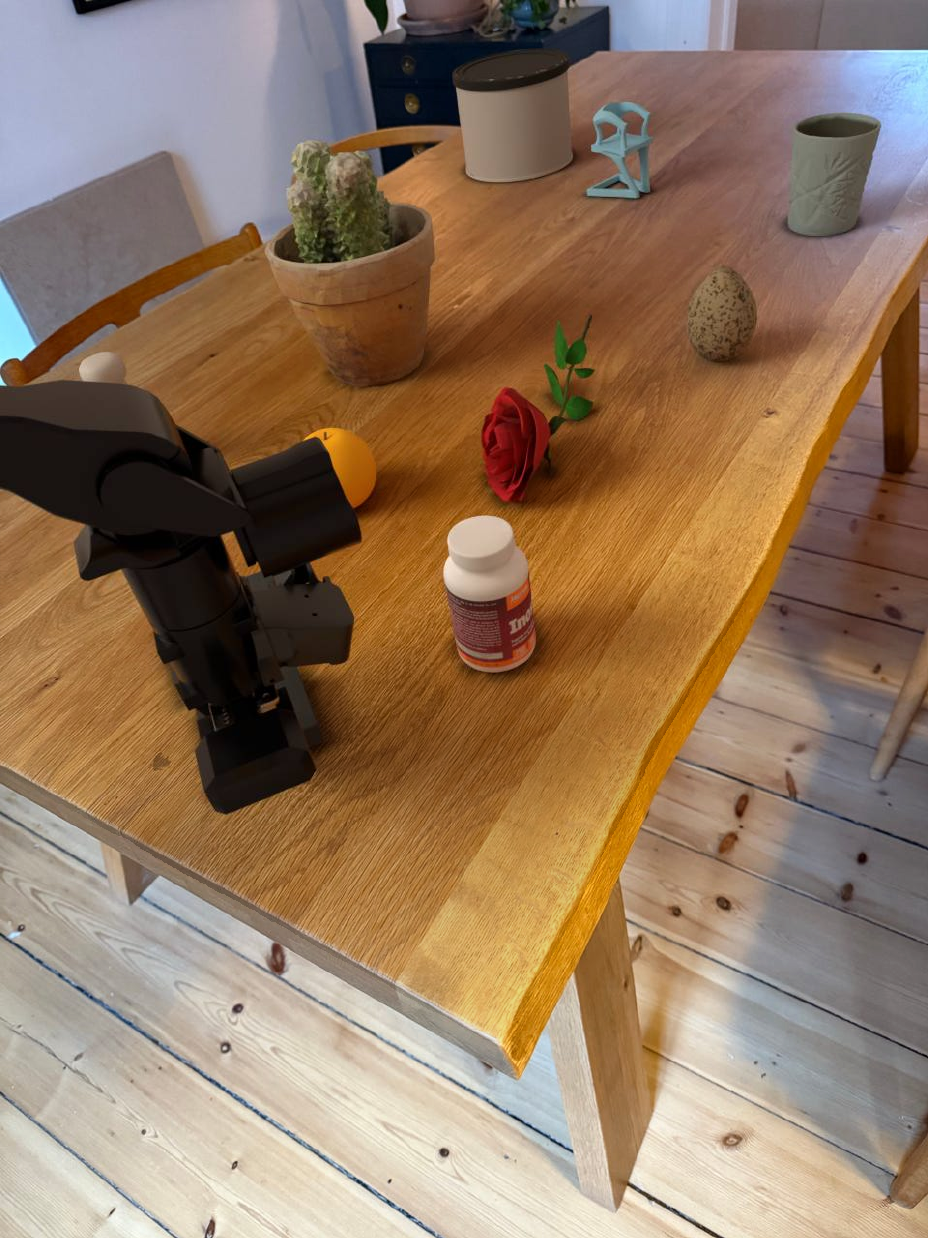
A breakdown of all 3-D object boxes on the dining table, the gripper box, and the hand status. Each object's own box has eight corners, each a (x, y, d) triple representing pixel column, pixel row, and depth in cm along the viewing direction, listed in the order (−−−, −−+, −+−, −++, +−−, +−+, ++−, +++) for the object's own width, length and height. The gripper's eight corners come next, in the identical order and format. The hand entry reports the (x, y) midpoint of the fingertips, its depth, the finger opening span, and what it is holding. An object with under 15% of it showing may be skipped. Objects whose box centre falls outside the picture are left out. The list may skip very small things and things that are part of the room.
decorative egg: (754, 373, 93) (762, 280, 87) (684, 375, 95) (687, 283, 88) (752, 340, 98) (760, 250, 92) (685, 342, 100) (688, 254, 93)
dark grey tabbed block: (218, 784, 63) (209, 767, 62) (196, 693, 70) (187, 676, 69) (325, 741, 65) (318, 724, 64) (293, 657, 72) (286, 639, 70)
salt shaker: (181, 452, 98) (135, 341, 89) (163, 482, 94) (114, 370, 85) (132, 455, 99) (82, 346, 90) (112, 485, 95) (58, 375, 86)
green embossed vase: (776, 214, 123) (785, 118, 114) (852, 204, 121) (867, 106, 113) (792, 242, 115) (804, 141, 107) (874, 232, 114) (892, 130, 106)
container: (525, 188, 144) (516, 83, 134) (442, 175, 155) (428, 77, 144) (596, 150, 153) (592, 49, 143) (513, 140, 163) (504, 45, 153)
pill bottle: (530, 678, 67) (516, 565, 59) (450, 673, 68) (426, 563, 61) (542, 620, 71) (530, 509, 63) (466, 617, 72) (446, 508, 65)
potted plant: (272, 376, 108) (202, 155, 91) (385, 314, 116) (340, 101, 99) (369, 419, 97) (311, 179, 80) (485, 348, 106) (455, 116, 89)
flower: (560, 257, 94) (475, 432, 76) (640, 297, 94) (575, 480, 76) (529, 325, 101) (445, 500, 83) (604, 362, 101) (537, 543, 83)
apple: (292, 526, 85) (270, 460, 80) (313, 478, 91) (294, 413, 85) (373, 524, 83) (356, 456, 78) (390, 475, 89) (374, 409, 84)
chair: (627, 204, 133) (626, 115, 125) (585, 195, 138) (582, 109, 130) (660, 186, 136) (661, 99, 128) (618, 178, 141) (617, 94, 133)
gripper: (369, 646, 47) (420, 815, 58) (287, 476, 60) (341, 639, 71) (162, 725, 45) (255, 886, 56) (125, 531, 58) (205, 691, 69)
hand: (270, 761), depth 63 cm, fingers closed
